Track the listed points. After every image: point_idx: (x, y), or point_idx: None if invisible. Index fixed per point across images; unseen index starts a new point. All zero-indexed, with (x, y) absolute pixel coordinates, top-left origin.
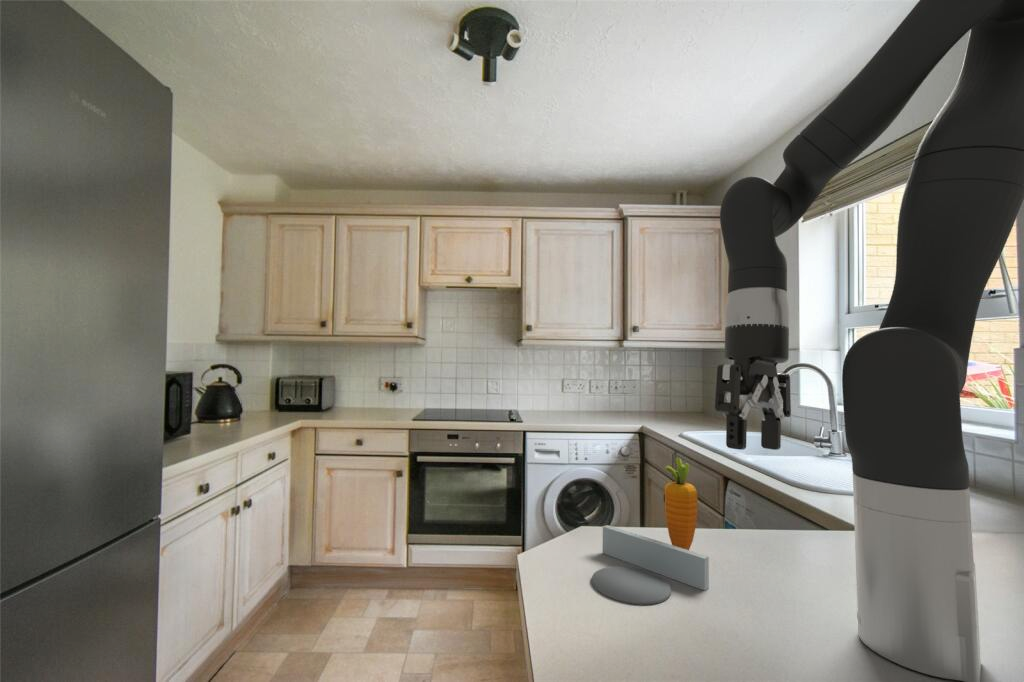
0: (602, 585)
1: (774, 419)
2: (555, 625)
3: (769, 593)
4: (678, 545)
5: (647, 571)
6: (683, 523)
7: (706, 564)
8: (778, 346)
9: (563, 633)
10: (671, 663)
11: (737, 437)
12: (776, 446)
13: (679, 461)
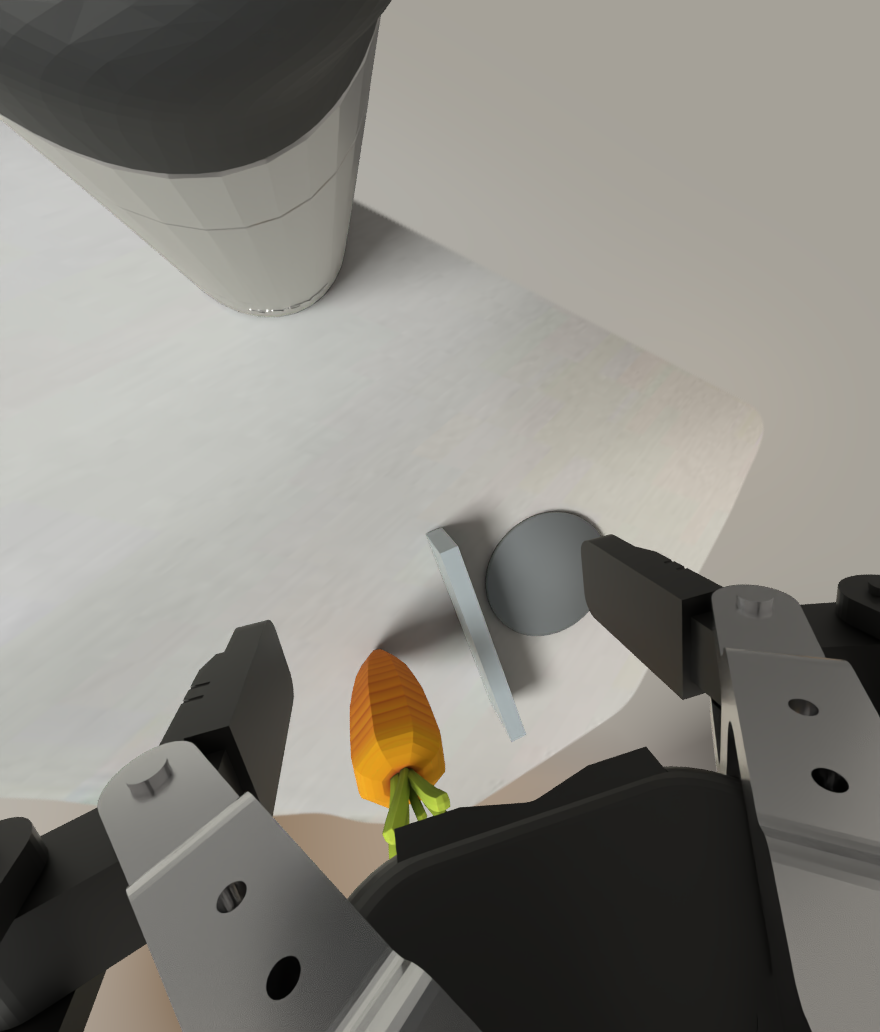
0: None
1: (223, 773)
2: (708, 500)
3: (324, 485)
4: (398, 659)
5: (493, 607)
6: (407, 678)
7: (445, 545)
8: None
9: (711, 480)
10: (646, 375)
11: (662, 559)
12: (267, 630)
13: None
